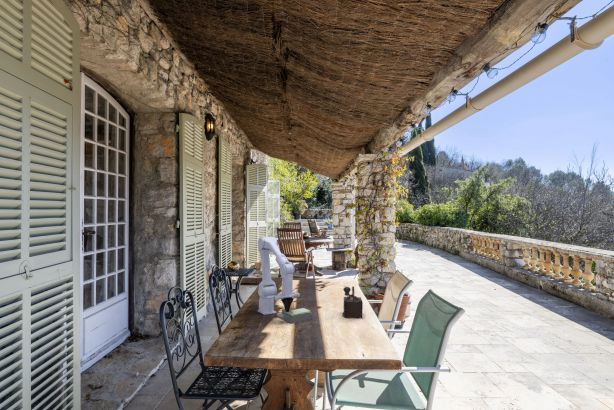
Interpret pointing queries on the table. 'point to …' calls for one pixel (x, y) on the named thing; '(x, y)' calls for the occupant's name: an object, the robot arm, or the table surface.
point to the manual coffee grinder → (352, 304)
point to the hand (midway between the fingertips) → (287, 311)
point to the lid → (298, 311)
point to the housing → (295, 317)
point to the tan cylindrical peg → (292, 306)
